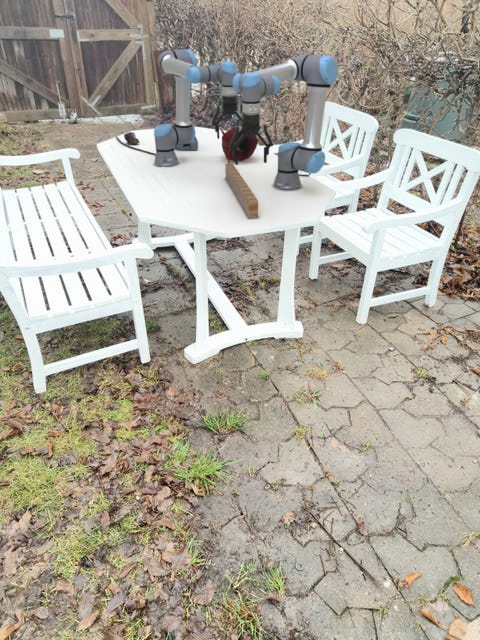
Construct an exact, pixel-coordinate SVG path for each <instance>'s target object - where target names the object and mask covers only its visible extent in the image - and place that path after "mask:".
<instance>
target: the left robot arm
mask: <svg viewBox="0 0 480 640" xmlns="http://www.w3.org/2000/svg"><path fill="white" fill-rule="evenodd" d="M157 65H158V68H159V70H160V71H161V72H162V73H164V74H167V75H173V77H174V78H175V119H174V120H173V125H172V124H171V123H161V124H159V125H156V126H155V127H154V129H153V136H154V145H155V153H154V152H150V151H148V150H144V149H140V148H137V147H133V146H131V145H129V144H126V143H124V142H123V141H121V140H120V139H119V137H118V136H117V135H116V136H115V138H116V139H117V141H118V142H119V143H120V144H122V145H123V146H125V147H128V148H130V149H132V150H137V151H140V152H143V153H147V154H150V155H154V165H155V166H157V167H163V168H164V167H165V168H167V167H168V168H169V167H174V166H177V165H178V164H179V159H178V157H177V153H176V151H175V147H174V146H175V145H181V144H188V143H191V142H192V141H193V140H194V139H195V137H196V133H197V132H196V128H195V125H194V124H193V122H192V120H191V116H190V115H191V112H190V111H191V84H193V85H194V84H195V85H196V84H202V83H203V84H204V83H212V82H221V83H222V84H221V89H222V90H221V91H222V92H221V93H222V94H221V95H222V105H217V106H216V111H215V113H214V115H213V118H212V120H211V125H212V126H214V132H215V133H216V138H217V140H220V126H219V125H220V123H221V121H223V119H224V118H225V116H226V115H227V116H229V115H231V116H232V115H235V116H236V118H238V120H239V121H240V122H241V124H240V126H242V124H243V117H241V115H242V116H243V114H244V113H243V104H238V100H237V99H238V97H237V94H238V93H237V91H235V90H234V88H233V78H234V76H235V75H236V74H237V72H238V71H237V63H236V62H235V61H223V62H221V64H217V63H216V64H211V65H198V63H197V58H196V55H195V53H194V51H192V50H191V49H187V48H186V49H185V48H182V49H167V50H164V51H162V52H161V53H160V54H159V56H158V58H157ZM237 110H239V111H240V113H241V115H239V113H238V112H237ZM220 111H222V112H221V114H220ZM219 114H220V115H219ZM218 116H219V117H218ZM242 133H243V130H242V129H241V134H242Z"/></svg>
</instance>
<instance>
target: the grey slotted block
mask: <svg viewBox="0 0 480 640" xmlns="http://www.w3.org/2000/svg"><path fill="white" fill-rule="evenodd" d="M174 149H176V150H179V151H197V150H198V149H199V141H198V138H197V137H196V136H195V139H194V140H193V141H192V142H191V143H188V144H181V145H175V146H174Z"/></svg>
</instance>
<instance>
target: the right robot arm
mask: <svg viewBox="0 0 480 640" xmlns="http://www.w3.org/2000/svg"><path fill="white" fill-rule="evenodd" d="M338 68H339V67H338V63H337V61H336V59H335V58H334V57H333V56H330V55H326V54H324V55H321V54H302V55H298V56H295V57H292V58H288V59H285V60H284V61H283V62H282V63H279V64H276V65H273V66H268V67H265V68H262V69H258V70H254V71H251V72H245V73H242V72H241V73H236V75H235V76H234V78H233V88H234V90H235V91H237V92H238V93H241V94H242V95H241V96H242V106H243V113H244V114H243V115H242V119H243V123H241V124H242V126H241V125H240V126H239V125H235V126H234V127H235V132H234V134H233V137H232V139H231V141H230V143H229V148H230V149H233V157H235V161H234V165H236V166H238V165H239V161H238V150H237V149H236V148H237V147H238V146H239V144H240V143H241V142H242V141H243V139H244V138H245V137H246V136H248V137H250V136H256V137H257V138H258V139H259V141H261V142H262V144H263V145H264V147H263V163H264V164H267V162H268V159H267V158H268V156H269V155H270V148H271V147H274V143H273V141H272V138H271V137H270V134H269V132H268V125H267V124H265V123H263V124H260V122H261V121H260V120H261V119H260V117H261V115H260V113H261V98H263V97H268V96H274V95H276V94H277V93H279V91H280V88H281V83H283V82H286V81H287V82H293V81H296V82H297V81H298V82H305V83H306V88H307V89H308V91H309V92H308V100H307V107H306V108H307V109H306V116H305V125H304V131H303V139H302V142H301V143H300V142H298V141H297V142H296V141H295V142H294V141H293V142H292V141H291V142H285V143H281V144H280V145H279V146H278V149H277V150H278V151H277V172H276V176H275V177H274V178H275V179H274V181H273V187H274V188H276V189H278V190H282V191H283V190H284V191H294V190H298V189H300V188H301V187H302V182H301V179H300V177H308V176H309V177H310V176H311V174H313V175H314V174H317V173H319V172H320V171H321V170H322V168H323V166H324V165H325V162H326V154H325V152H324V151H322V150H323V145H322V144H321V137H322V129H323V122H324V114H325V108H326V101H327V93H328V91H329V90H330V89H331V87H332V85H333V84H334V83H336V80H337V78H338V74H339V69H338ZM241 129H242V130H243V133H242V134H241V136H240V137H239V139H238V140H237V141H236V143H235V144H234V142H235V140H236V138H237V135H238V133H239V132H240V130H241ZM260 130H262V131H263V133H264V136H265V138H266V139H264V137H263V136H262V135H261V134H260ZM266 140H267V141H266ZM233 144H234V145H233ZM299 172H304V173H307V174H299Z"/></svg>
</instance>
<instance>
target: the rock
mask: <svg viewBox="0 0 480 640" xmlns="http://www.w3.org/2000/svg"><path fill="white" fill-rule="evenodd" d="M123 138H124V140H125V141H126V143H127V145H138V144H140V140H139V139H138V138H137V137H136V134H135V132H133V131H129V132H126V133H124V134H123Z"/></svg>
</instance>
